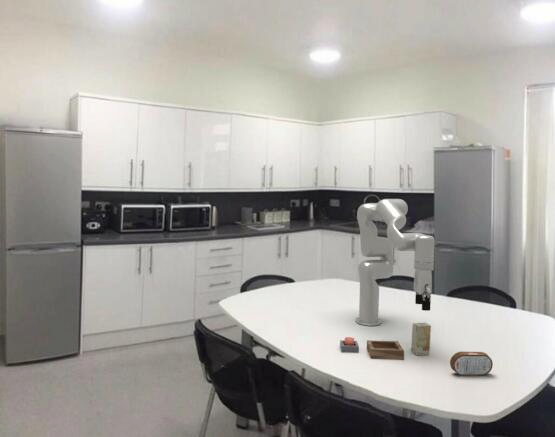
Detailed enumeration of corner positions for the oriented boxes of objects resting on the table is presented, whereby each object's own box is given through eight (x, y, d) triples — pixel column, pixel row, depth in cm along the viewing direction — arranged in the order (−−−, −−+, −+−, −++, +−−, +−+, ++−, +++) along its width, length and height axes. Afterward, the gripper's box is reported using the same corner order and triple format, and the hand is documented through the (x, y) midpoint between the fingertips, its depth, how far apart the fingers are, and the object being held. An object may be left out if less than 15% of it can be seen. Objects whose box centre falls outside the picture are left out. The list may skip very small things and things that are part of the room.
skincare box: (416, 355, 182) (417, 326, 181) (410, 351, 186) (411, 323, 185) (430, 354, 184) (431, 325, 183) (424, 350, 188) (425, 322, 187)
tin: (489, 373, 166) (490, 350, 166) (493, 376, 163) (494, 354, 163) (449, 373, 166) (450, 350, 165) (452, 376, 163) (453, 354, 162)
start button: (344, 343, 190) (344, 337, 190) (353, 344, 190) (353, 337, 190) (345, 347, 186) (345, 340, 186) (354, 347, 186) (354, 340, 186)
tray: (366, 348, 190) (366, 340, 189) (397, 349, 189) (398, 341, 189) (370, 358, 179) (371, 349, 178) (403, 359, 178) (404, 350, 178)
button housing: (340, 346, 192) (340, 340, 192) (356, 346, 192) (356, 340, 192) (341, 352, 185) (341, 346, 185) (358, 352, 185) (358, 346, 185)
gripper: (409, 262, 191) (408, 301, 192) (420, 269, 174) (418, 312, 175) (427, 262, 191) (425, 302, 192) (440, 269, 173) (438, 313, 175)
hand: (422, 307), depth 183 cm, fingers open, 9 cm apart
